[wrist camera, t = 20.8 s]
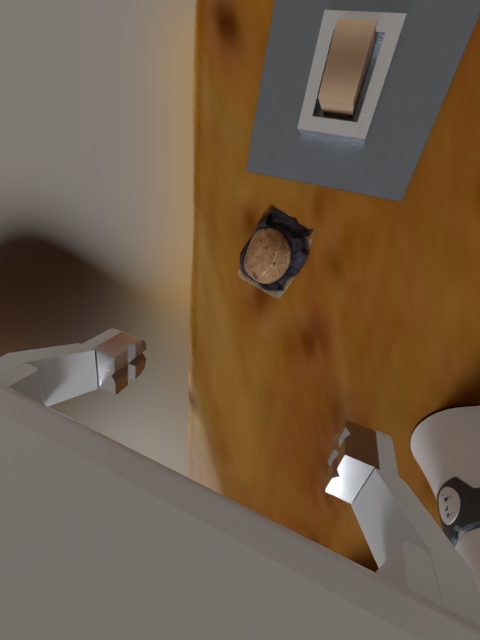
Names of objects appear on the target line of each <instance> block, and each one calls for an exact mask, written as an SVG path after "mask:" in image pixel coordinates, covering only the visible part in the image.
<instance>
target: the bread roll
mask: <svg viewBox="0 0 480 640" xmlns="http://www.w3.org/2000/svg"><path fill="white" fill-rule="evenodd" d="M311 234H313V232H311V231H310V230H309V229H307V228H305V227H303V226H302V225H300V224H299V223H298V222H296V221H295V220H293V219H292V218H290V217H289V216H288V215H286V214H284V213H283V212H280V211H278V210H271V209H267V211H266V212H265V213H264V215H263V217H262V218H261V220H260V222H259V224H258V225H257V227H256V229H255V231H254V233H253V236H252V238H251V239H250V241H249V242H248V244H247V245H246V246H245V247H244V250H243V251H242V252H241V254H240V269H239V270H238V276H239V277H240V278H242V279H244V280H245V281H247V282H249V283H250V284H252V285H254V286H256V287H257V288H259V289H261V290H263V291H264V292H266V293H268V294H270V295H271V296H273V297H275V298H277V299H279V298H281V296H282V295H283V294H284V292H285V291H286V289H287V288H288V286H289V285H290V283H291V282H292V280H293V279H294V277H295V276H296V275H297V274H298V273H299V272H300V269H301V268H302V267H303V266H304V264H305V262H306V260H307V258H308V257H307V253H308V250H309V248H310V246H311V242H312V239H311V238H310V240H308V238H307V237H308V236H309V235H311Z"/></svg>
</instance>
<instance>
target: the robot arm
mask: <svg viewBox="0 0 480 640" xmlns="http://www.w3.org/2000/svg"><path fill="white" fill-rule="evenodd" d="M145 350H146V343H145V342H144V341H143V340H141V339H139V338H136V337H134V336H132V335H129V334H127V333H125V332H121V331H119V330H117V329H110V330H107V331H106V332H104V333H102V334H100V335H98V336H96V337H94V338H92V339H91V340H89V341H87V342H85V343H83V344H79V343H77V344H70V345H63V346H56V347H49V348H42V349H35V350H28V351H21V352H15V353H8V354H6V355H4V356H2V357H0V640H480V405H479V406H471V407H459V408H452V409H447V410H444V411H441V412H438V413H436V414H433V415H431V416H430V417H428V418H426V419H425V420H424V421H422V422H421V423H420V424H419V425H418V426H417V427H416V429H415V430H414V432H413V434H412V437H411V451H412V454H413V456H414V458H415V459H416V461H417V463H418V464H419V466H420V467H421V469H422V471H423V473H424V474H425V476H426V478H427V480H428V482H429V484H430V486H431V489H432V491H433V493H434V495H435V497H436V500H437V504H438V511H439V516H440V521H441V525H442V528H443V531H444V533H443V531H442V530H441V529H440V527H439V526H438V525H437V523H436V522H435V521H434V519H433V518H432V517H431V515H430V514H429V513H428V511H427V510H426V509H425V507H424V506H423V505H422V503H421V502H420V501H419V499H418V498H417V497H416V496H415V494H414V493H413V492H412V490H411V489H410V488H409V486H408V485H407V484H406V482H405V481H404V480H402V479H400V478H399V475H398V469H397V464H396V459H395V453H394V448H393V442H392V438H391V437H390V435H387V434H384V433H381V432H379V431H376V430H372V429H370V428H367V427H364V426H362V425H359V424H357V423H354V422H351V421H349V420H346V419H343V420H342V422H341V424H340V426H339V434H337V435H335V436H334V438H333V440H332V443H331V446H330V449H329V454H328V464H329V466H330V468H329V470H328V472H327V475H326V488H325V491H326V492H328V493H330V494H332V495H334V496H336V497H338V498H340V499H342V500H344V501H346V502H348V503H350V504H352V505H351V506H352V508H353V511H354V513H355V515H356V518H357V520H358V522H359V525H360V527H361V529H362V531H363V534H364V536H365V538H366V541H367V543H368V545H369V547H370V550H371V552H372V554H373V557H374V559H375V561H376V563H377V566H378V568H379V569H378V570H377V572H376V573H375V572H373V571H371V570H369V569H367V568H365V567H363V566H361V565H359V564H357V563H355V562H353V561H351V560H349V559H347V558H345V557H343V556H341V555H339V554H337V553H336V552H334V551H332V550H330V549H328V548H326V547H324V546H322V545H320V544H318V543H316V542H314V541H312V540H310V539H308V538H306V537H304V536H302V535H300V534H298V533H296V532H294V531H292V530H290V529H288V528H286V527H284V526H282V525H280V524H278V523H276V522H274V521H272V520H270V519H268V518H266V517H265V516H263V515H261V514H259V513H257V512H255V511H253V510H251V509H249V508H247V507H245V506H243V505H241V504H239V503H237V502H235V501H233V500H231V499H229V498H227V497H225V496H223V495H221V494H219V493H217V492H215V491H213V490H211V489H209V488H207V487H205V486H203V485H201V484H199V483H197V482H195V481H194V480H192V479H190V478H188V477H186V476H183V475H182V474H180V473H178V472H176V471H174V470H172V469H170V468H168V467H166V466H164V465H162V464H160V463H158V462H156V461H154V460H152V459H150V458H148V457H146V456H144V455H142V454H140V453H138V452H136V451H134V450H132V449H130V448H128V447H126V446H124V445H122V444H120V443H118V442H116V441H115V440H113V439H111V438H109V437H107V436H105V435H103V434H101V433H99V432H97V431H95V430H93V429H91V428H89V427H87V426H85V425H83V424H81V423H79V422H77V421H75V420H73V419H71V418H69V417H67V416H65V415H63V414H61V413H59V412H57V411H55V410H54V409H52V408H50V407H48V406H50V405H53V404H56V403H59V402H61V401H64V400H67V399H70V398H73V397H76V396H78V395H81V394H84V393H87V392H90V391H92V390H95V389H97V388H100V389H102V390H105V391H107V392H110V393H112V394H114V395H116V394H118V393H119V392H120V391H121V390H122V389H124V388H125V387H126V386H127V385H128V381H129V380H133V379H136V378H137V377H138V376H139V375H140V374H141V372H142V371H143V369H144V367H145V361H146V358H145V356H144V354H143V352H144V351H145Z"/></svg>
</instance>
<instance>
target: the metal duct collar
mask: <svg viewBox="0 0 480 640" xmlns="http://www.w3.org/2000/svg"><path fill="white" fill-rule="evenodd" d="M479 14H480V0H275V3H274V9H273V15H272V21H271V27H270V33H269V39H268V45H267V51H266V57H265V63H264V69H263V74H262V80H261V86H260V92H259V98H258V104H257V110H256V116H255V122H254V128H253V134H252V140H251V146H250V152H249V158H248V163H247V169H246V171H248V172H253V173H258V174H263V175H268V176H273V177H278V178H283V179H288V180H293V181H298V182H303V183H308V184H313V185H318V186H323V187H328V188H333V189H338V190H343V191H349V192H354V193H359V194H364V195H369V196H374V197H379V198H384V199H389V200H394V201H399V202H401V201H402V199H403V196H404V194H405V191H406V189H407V187H408V184H409V182H410V179H411V177H412V175H413V172H414V170H415V167H416V165H417V163H418V160H419V158H420V155H421V153H422V151H423V148H424V146H425V144H426V141H427V139H428V136H429V134H430V132H431V129H432V127H433V124H434V122H435V120H436V117H437V115H438V112H439V110H440V108H441V105H442V103H443V100H444V98H445V96H446V93H447V91H448V88H449V86H450V84H451V81H452V79H453V77H454V74H455V72H456V69H457V67H458V65H459V62H460V60H461V57H462V55H463V53H464V50H465V48H466V45H467V43H468V41H469V38H470V36H471V33H472V31H473V29H474V26H475V24H476V21H477V19H478V17H479ZM337 18H343V19H363V20H377V25H376V32H375V38H374V45H373V52H372V57H371V60H370V64H369V67H368V70H367V74H366V77H365V80H364V84H363V87H362V90H361V93H360V97H359V100H358V103H357V107H356V110H355V113H354V117H353V119H346V118H339V117H331V116H324V115H323V111H322V108H321V105H320V102H319V99H318V95H319V91H320V87H321V83H322V79H323V75H324V71H325V67H326V63H327V59H328V55H329V51H330V47H331V43H332V39H333V35H334V31H335V27H336V22H337Z"/></svg>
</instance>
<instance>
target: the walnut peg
mask: <svg viewBox="0 0 480 640" xmlns="http://www.w3.org/2000/svg"><path fill="white" fill-rule="evenodd" d="M376 25H377V20H363V19H343V18H337V22H336V27H335V31H334V35H333V39H332V43H331V47H330V51H329V55H328V59H327V63H326V67H325V71H324V75H323V79H322V83H321V87H320V91H319V95H318V99H319V102H320V105H321V108H322V111H323V115H324V116H331V117H339V118H346V119H353V117H354V113H355V110H356V107H357V103H358V100H359V97H360V93H361V90H362V87H363V84H364V80H365V77H366V74H367V70H368V67H369V64H370V60H371V57H372V52H373V45H374V38H375V32H376Z"/></svg>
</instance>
